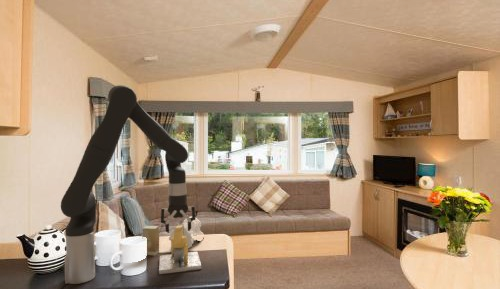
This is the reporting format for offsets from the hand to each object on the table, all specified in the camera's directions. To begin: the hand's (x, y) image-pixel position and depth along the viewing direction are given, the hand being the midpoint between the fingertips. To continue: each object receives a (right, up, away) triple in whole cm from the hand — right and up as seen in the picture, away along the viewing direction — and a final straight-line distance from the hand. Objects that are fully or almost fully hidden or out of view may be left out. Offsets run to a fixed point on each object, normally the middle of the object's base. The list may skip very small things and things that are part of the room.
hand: (178, 231), depth 132 cm
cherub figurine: (-1, -12, +23) cm, 26 cm away
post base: (+1, -12, -4) cm, 13 cm away
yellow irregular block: (+1, -5, -4) cm, 6 cm away
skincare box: (-14, -13, +9) cm, 21 cm away
